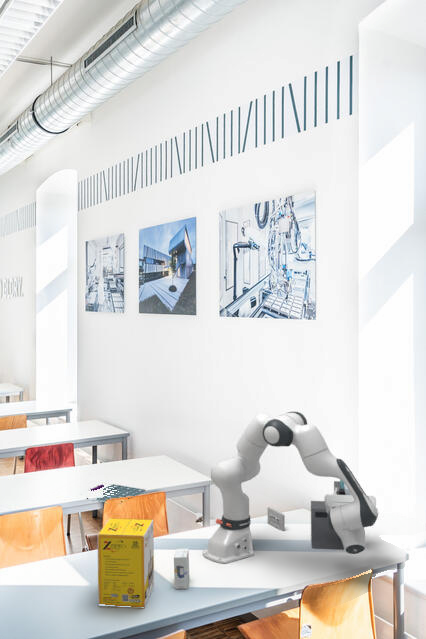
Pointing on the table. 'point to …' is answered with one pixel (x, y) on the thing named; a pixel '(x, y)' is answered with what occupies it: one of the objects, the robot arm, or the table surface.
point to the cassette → (279, 520)
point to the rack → (324, 525)
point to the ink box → (181, 569)
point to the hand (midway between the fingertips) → (348, 488)
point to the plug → (344, 488)
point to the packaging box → (125, 562)
